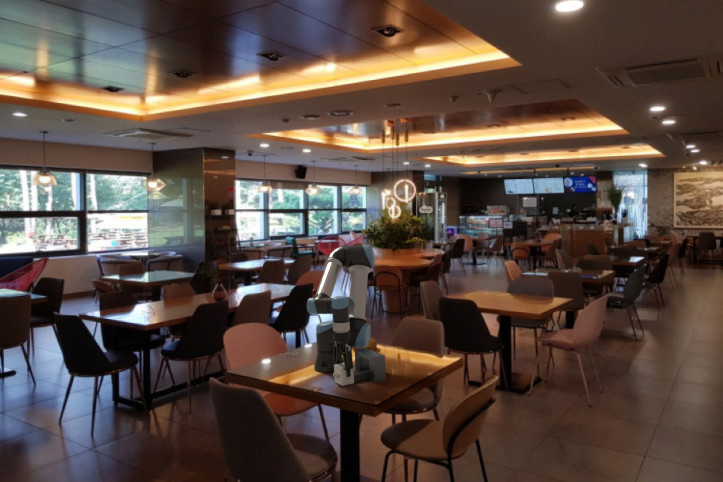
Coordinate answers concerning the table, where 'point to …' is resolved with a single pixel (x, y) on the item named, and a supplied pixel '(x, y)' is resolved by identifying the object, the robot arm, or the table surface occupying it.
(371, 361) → the cable tunnel
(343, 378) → the plug
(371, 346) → the golden lumpy mound
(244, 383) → the table surface
